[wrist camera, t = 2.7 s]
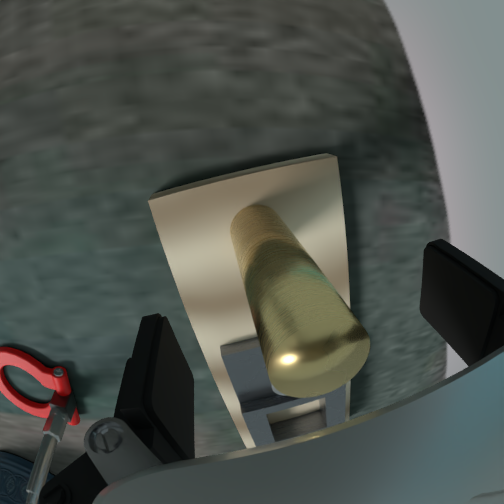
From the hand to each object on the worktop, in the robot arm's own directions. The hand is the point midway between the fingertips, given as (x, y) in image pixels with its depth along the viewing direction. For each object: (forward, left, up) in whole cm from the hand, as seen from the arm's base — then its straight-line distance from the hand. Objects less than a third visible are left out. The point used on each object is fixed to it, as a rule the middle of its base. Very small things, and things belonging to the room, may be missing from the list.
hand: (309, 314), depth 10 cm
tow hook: (+9, -22, -9) cm, 26 cm away
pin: (0, 0, -7) cm, 7 cm away
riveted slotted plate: (+15, 0, -7) cm, 16 cm away
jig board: (+10, 0, -9) cm, 13 cm away
